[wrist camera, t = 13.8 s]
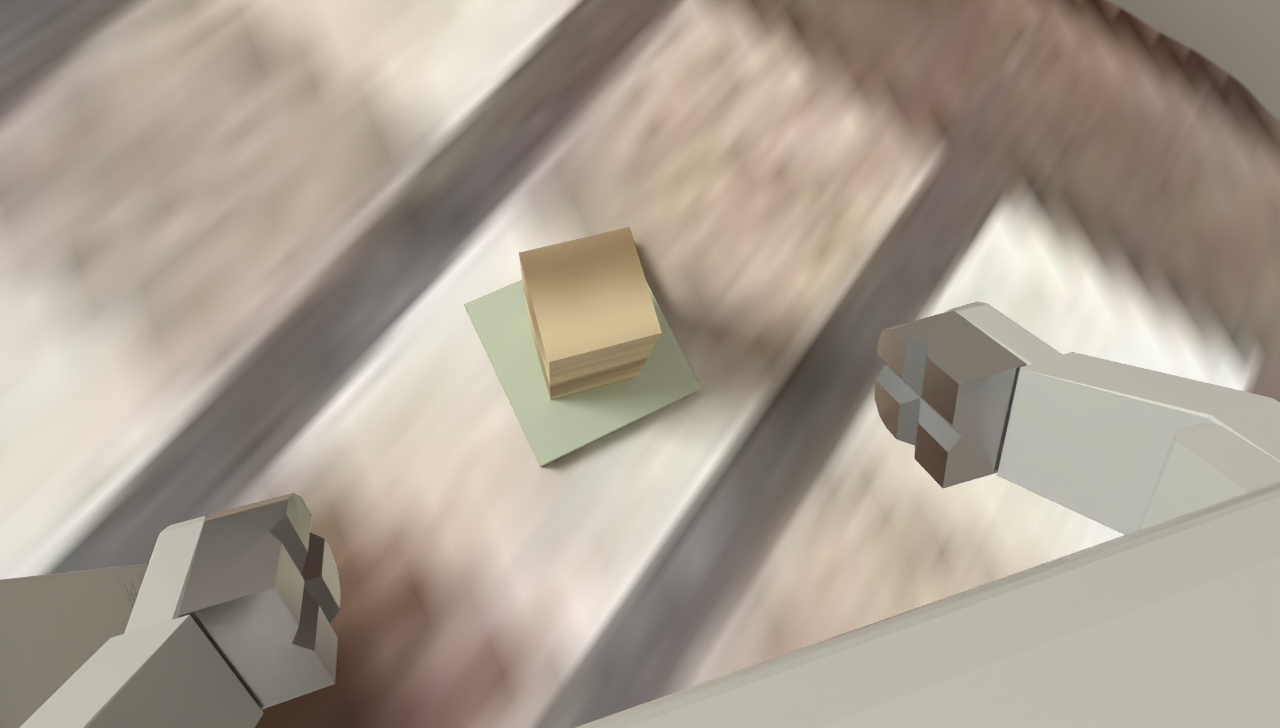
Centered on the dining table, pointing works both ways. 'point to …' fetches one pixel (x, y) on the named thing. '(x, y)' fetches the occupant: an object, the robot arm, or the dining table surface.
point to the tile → (580, 414)
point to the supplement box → (57, 630)
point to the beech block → (589, 311)
